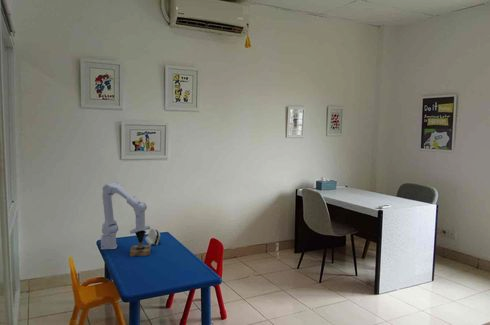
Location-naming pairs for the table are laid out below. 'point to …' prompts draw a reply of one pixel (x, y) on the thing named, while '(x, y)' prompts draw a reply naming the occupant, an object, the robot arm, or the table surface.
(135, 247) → the block
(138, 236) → the robot arm
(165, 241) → the table surface
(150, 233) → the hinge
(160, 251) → the table surface
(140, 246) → the pin
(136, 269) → the table surface
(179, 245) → the table surface
